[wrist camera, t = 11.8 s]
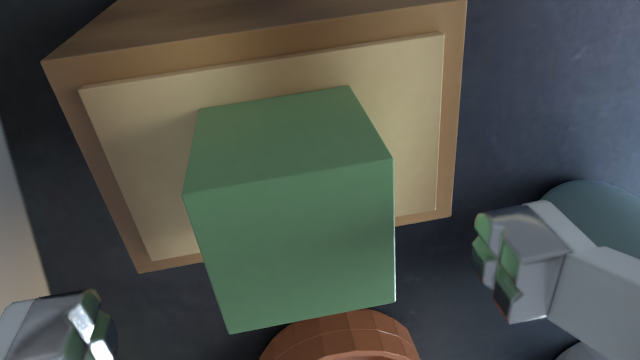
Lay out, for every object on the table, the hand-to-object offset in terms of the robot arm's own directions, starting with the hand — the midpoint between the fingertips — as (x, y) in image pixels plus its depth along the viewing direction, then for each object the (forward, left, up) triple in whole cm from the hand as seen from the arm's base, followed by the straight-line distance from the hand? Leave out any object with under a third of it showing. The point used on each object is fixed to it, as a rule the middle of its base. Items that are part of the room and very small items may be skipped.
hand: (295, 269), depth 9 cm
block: (0, 0, -5) cm, 5 cm away
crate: (0, 0, -17) cm, 17 cm away
